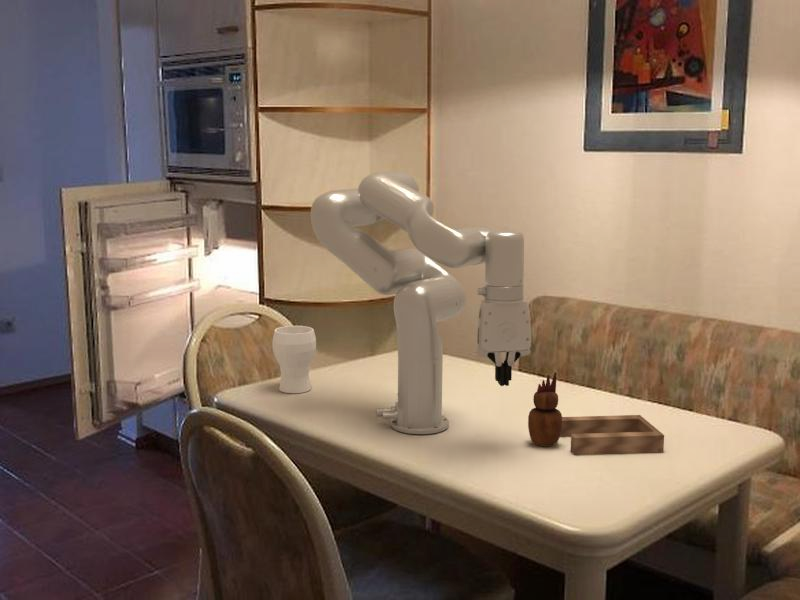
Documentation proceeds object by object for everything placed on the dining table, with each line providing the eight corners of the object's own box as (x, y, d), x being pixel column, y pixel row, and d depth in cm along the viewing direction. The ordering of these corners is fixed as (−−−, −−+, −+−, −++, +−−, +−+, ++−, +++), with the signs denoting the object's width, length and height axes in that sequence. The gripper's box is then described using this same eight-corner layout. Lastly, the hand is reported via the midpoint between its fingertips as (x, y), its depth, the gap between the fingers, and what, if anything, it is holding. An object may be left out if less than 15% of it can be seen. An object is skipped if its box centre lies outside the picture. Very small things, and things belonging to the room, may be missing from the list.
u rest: (574, 455, 178) (574, 437, 177) (555, 433, 191) (556, 417, 190) (663, 452, 180) (664, 435, 179) (639, 430, 193) (639, 414, 192)
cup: (325, 387, 224) (324, 328, 222) (298, 397, 216) (297, 336, 213) (292, 381, 230) (291, 323, 227) (264, 391, 221) (263, 330, 218)
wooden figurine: (561, 440, 186) (563, 369, 184) (561, 449, 181) (563, 377, 178) (528, 438, 188) (530, 368, 185) (526, 447, 182) (529, 375, 179)
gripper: (469, 297, 173) (469, 390, 176) (546, 295, 174) (544, 387, 177) (463, 291, 180) (462, 380, 183) (536, 289, 182) (535, 378, 185)
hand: (503, 384), depth 180 cm, fingers closed
